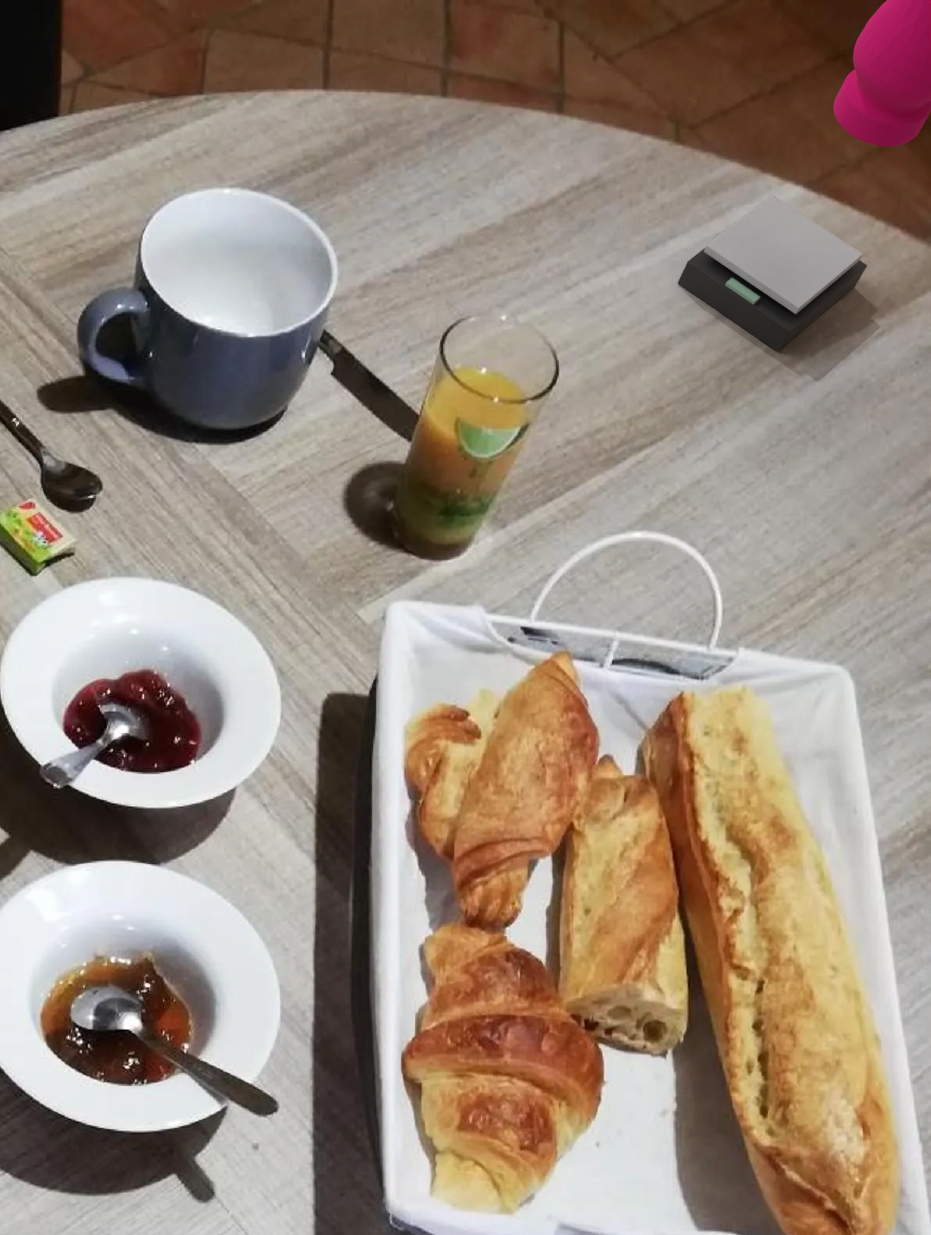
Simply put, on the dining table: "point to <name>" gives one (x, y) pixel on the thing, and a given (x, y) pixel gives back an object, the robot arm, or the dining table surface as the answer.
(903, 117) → the pepper mill
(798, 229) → the scale
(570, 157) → the dining table surface
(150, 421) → the dining table surface
